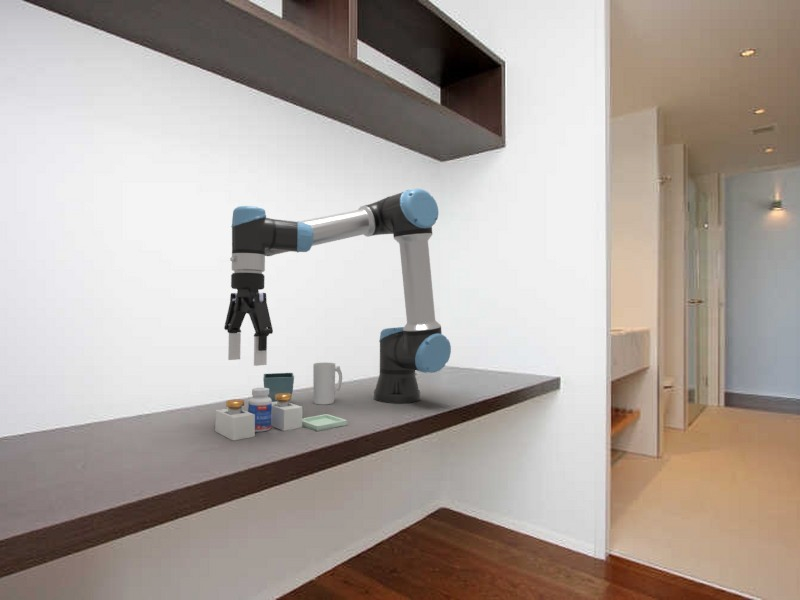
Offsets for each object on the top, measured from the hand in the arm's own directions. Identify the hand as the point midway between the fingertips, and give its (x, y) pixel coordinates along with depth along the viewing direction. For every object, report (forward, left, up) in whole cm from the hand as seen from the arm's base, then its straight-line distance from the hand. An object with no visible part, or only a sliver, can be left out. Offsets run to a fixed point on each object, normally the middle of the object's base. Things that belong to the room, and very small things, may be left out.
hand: (246, 362), depth 111 cm
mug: (-35, -16, -17) cm, 42 cm away
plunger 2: (-10, 0, -16) cm, 19 cm away
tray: (-18, +6, -16) cm, 25 cm away
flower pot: (-21, -22, -17) cm, 34 cm away
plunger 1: (+3, 0, -16) cm, 16 cm away
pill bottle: (-4, 0, -17) cm, 17 cm away
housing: (-4, 0, -16) cm, 17 cm away
